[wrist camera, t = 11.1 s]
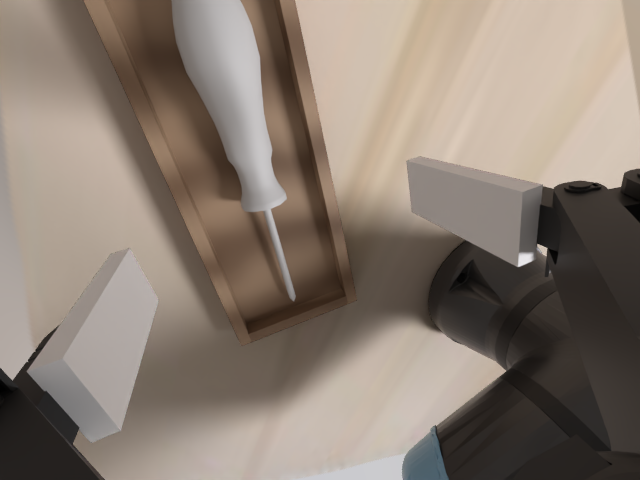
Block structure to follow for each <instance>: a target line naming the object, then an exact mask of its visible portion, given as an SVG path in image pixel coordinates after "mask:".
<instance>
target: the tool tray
mask: <svg viewBox="0 0 640 480" xmlns="http://www.w3.org/2000/svg"><path fill="white" fill-rule="evenodd" d="M240 1H241V3H242V4H243V7H244V9H245V11H246V13H247V16H248V18H249V20H250V23H251V25H252V28H253V32H254V36H255V40H256V44H257V48H258V52H259V55H260V69H261V85H262V97H263V108H264V115H265V121H266V126H267V131H268V134H269V138H270V142H271V146H272V156H271V163H272V168H273V172H274V175H275V178H276V179H277V181H278V183H279V184H280V185H281V187H282V188H283V189H284V190H285V193H286V197H287V200H285V201H284V202H283V203H282V204H281V205H279V206H276V207H274V208H272V209H271V212H272V215H273V219H274V222H275V226H276V229H277V233H278V236H279V240H280V243H281V247H282V250H283V253H284V257H285V260H286V264H287V267H288V271H289V274H290V278H291V281H292V285H293V288H294V292H295V295H296V297H295V300H294V301H293V300H292V299H290V298H289V295H288V292H287V289H286V285H285V282H284V279H283V275H282V272H281V269H280V265H279V262H278V259H277V255H276V252H275V249H274V246H273V242H272V239H271V236H270V232H269V229H268V226H267V222H266V219H265V216H264V213H263V211H258V212H247V211H244V210H243V209H242V207H241V196H242V187H241V183H240V180H239V177H238V174H237V172H236V170H235V168H234V166H233V165H232V164H231V163H230V162H229V161H228V158H227V155H226V152H225V149H224V146H223V143H222V140H221V138H220V135H219V133H218V131H217V128H216V126H215V123H214V122H213V120H212V118H211V116H210V114H209V112H208V110H207V108H206V106H205V105H204V103H203V101H202V99H201V97H200V95H199V93H198V91H197V90H196V88H195V86H194V85H193V83H192V81H191V80H190V78H189V76H188V75H187V73H186V70H185V67H184V64H183V61H182V58H181V55H180V52H179V49H178V46H177V43H176V38H175V32H174V26H173V18H172V1H171V0H84V3H85V5H86V7H87V9H88V11H89V14H90V16H91V18H92V20H93V22H94V25H95V27H96V29H97V31H98V33H99V35H100V38H101V40H102V42H103V44H104V46H105V49H106V51H107V53H108V55H109V57H110V60H111V62H112V64H113V66H114V68H115V71H116V73H117V75H118V77H119V79H120V81H121V84H122V86H123V88H124V90H125V92H126V95H127V97H128V99H129V101H130V103H131V106H132V108H133V110H134V112H135V114H136V116H137V119H138V121H139V123H140V125H141V127H142V130H143V132H144V134H145V136H146V138H147V141H148V143H149V145H150V147H151V149H152V151H153V154H154V156H155V158H156V160H157V162H158V165H159V167H160V169H161V171H162V173H163V176H164V178H165V180H166V182H167V184H168V186H169V189H170V191H171V193H172V195H173V197H174V200H175V202H176V204H177V206H178V208H179V211H180V213H181V215H182V217H183V219H184V222H185V224H186V226H187V228H188V230H189V232H190V235H191V237H192V239H193V241H194V243H195V246H196V248H197V250H198V252H199V254H200V257H201V259H202V261H203V263H204V265H205V267H206V270H207V272H208V274H209V276H210V278H211V281H212V283H213V285H214V287H215V289H216V292H217V294H218V296H219V298H220V300H221V302H222V305H223V307H224V309H225V311H226V313H227V316H228V318H229V320H230V322H231V324H232V327H233V329H234V331H235V333H236V335H237V337H238V340H239V342H240V344H241V346H243V345H246V344H248V343H251V342H253V341H256V340H258V339H261V338H263V337H266V336H268V335H271V334H273V333H276V332H278V331H281V330H284V329H286V328H289V327H291V326H294V325H296V324H299V323H301V322H304V321H306V320H309V319H311V318H314V317H316V316H319V315H321V314H324V313H326V312H329V311H331V310H334V309H336V308H339V307H342V306H344V305H347V304H349V303H352V302H354V301H357V297H356V292H355V287H354V282H353V278H352V273H351V268H350V263H349V258H348V254H347V249H346V244H345V239H344V234H343V229H342V225H341V220H340V215H339V210H338V205H337V201H336V196H335V191H334V186H333V181H332V176H331V172H330V167H329V162H328V157H327V152H326V148H325V143H324V138H323V133H322V128H321V123H320V119H319V114H318V109H317V104H316V99H315V95H314V90H313V85H312V80H311V75H310V70H309V66H308V61H307V56H306V51H305V46H304V42H303V37H302V32H301V27H300V22H299V17H298V13H297V8H296V3H295V0H240Z"/></svg>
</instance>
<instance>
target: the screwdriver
mask: <svg viewBox="0 0 640 480" xmlns="http://www.w3.org/2000/svg"><path fill="white" fill-rule="evenodd" d="M171 1H172V18H173V26H174V32H175V38H176V43H177V46H178V49H179V52H180V55H181V58H182V61H183V64H184V67H185V70H186V73H187V75H188V76H189V78H190V80H191V81H192V83H193V85H194V86H195V88H196V90H197V91H198V93H199V95H200V97H201V99H202V101H203V103H204V105H205V106H206V108H207V110H208V112H209V114H210V116H211V118H212V120H213V122H214V123H215V126H216V128H217V131H218V133H219V135H220V138H221V140H222V143H223V146H224V149H225V152H226V155H227V158H228V161H229V162H230V163H231V164H232V165H233V166H234V168H235V170H236V172H237V174H238V177H239V180H240V183H241V187H242V196H241V207H242V209H243V210H244V211H247V212H258V211H263V213H264V216H265V219H266V222H267V226H268V229H269V232H270V236H271V239H272V242H273V246H274V249H275V252H276V255H277V259H278V262H279V265H280V269H281V272H282V275H283V279H284V282H285V285H286V289H287V292H288V295H289V298H290V299H292V300H293V301H294V300H295V297H296V295H295V292H294V288H293V285H292V281H291V278H290V274H289V271H288V267H287V264H286V260H285V257H284V253H283V250H282V247H281V243H280V240H279V236H278V233H277V229H276V226H275V222H274V219H273V215H272V212H271V209H272V208H274V207H276V206H279V205H281V204H282V203H283V202H284V201H285V200H287V197H286V193H285V190H284V189H283V188H282V187H281V185H280V184H279V183H278V181H277V179H276V178H275V175H274V172H273V168H272V163H271V156H272V146H271V142H270V138H269V134H268V131H267V126H266V121H265V115H264V108H263V97H262V85H261V69H260V55H259V52H258V48H257V44H256V40H255V36H254V32H253V28H252V25H251V23H250V20H249V18H248V16H247V13H246V11H245V9H244V7H243V4H242V3H241V1H240V0H171Z"/></svg>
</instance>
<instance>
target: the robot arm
mask: <svg viewBox="0 0 640 480" xmlns="http://www.w3.org/2000/svg"><path fill="white" fill-rule="evenodd" d="M407 170H408V180H409V190H410V199H411V209H412V212H413V213H415V214H417V215H419V216H421V217H423V218H425V219H427V220H428V221H430V222H432V223H434V224H436V225H438V226H440V227H442V228H444V229H446V230H448V231H449V232H451V233H453V234H455V235H457V236H459V237H461V238H463V239H465V240H467V241H465V242H464V243H463V244H461V245H460V246H459V247H458V248H457V249H456V250H454V251H453V252H452V253H451V254H450V256H449V257H448V258H447V259H446V260H445V262H444V263H443V264H442V266H441V267H440V269H439V271H438V272H437V274H436V276H435V278H434V281H433V283H432V286H431V289H430V294H429V312H430V316H431V318H432V320H433V322H434V324H435V325H436V326H437V327H438V328H439V329H440V330H441V331H442V332H443V333H444V334H445V335H446V336H447V337H449V338H450V339H451V340H453V341H455V342H457V343H460V344H462V345H465V346H467V347H468V348H470V349H472V350H474V351H476V352H478V353H480V354H482V355H484V356H486V357H488V358H490V359H492V360H494V361H496V362H497V363H498V364H499V365H501V366H502V367H503V368H504V369H505V370H506V372H505V373H504V374H502V375H501V376H500V377H498V378H497V379H496V380H494V381H493V382H492V383H491V384H489V385H488V386H487V387H485V388H484V389H483V390H482V391H480V392H479V393H478V394H477V395H475V396H474V397H473V398H472V399H470V400H469V401H468V402H466V403H465V404H464V405H463V406H461V407H460V408H459V409H458V410H456V411H455V412H454V413H453V414H451V415H450V416H449V417H447V418H446V419H445V420H444V421H442V422H441V423H440V424H439V425H437V426H436V425H435V426H433V427H432V428H431V430H430V432H429V433H428V434H427V435H426V436H425V437H424V438H423V439H422V440H420V441H419V442H418V443H417V444H416V445H415V446H414V447H413V448H411V449H410V450H409V451H408V453H407V454H406V456H405V458H404V461H403V466H402V477H403V480H640V169H635V170H630V171H628V172H626V173H624V177H623V181H622V186H621V187H619V188H613V189H607V188H606V187H605V186H603V185H601V184H599V183H593V182H587V181H574V182H568V183H563V184H559V185H557V186H556V187H554V189H552V188H547V187H543V185H542V184H537V183H533V182H529V181H525V180H520V179H516V178H512V177H507V176H503V175H499V174H494V173H490V172H486V171H481V170H477V169H473V168H468V167H464V166H460V165H455V164H451V163H447V162H442V161H438V160H434V159H429V158H425V157H421V156H420V157H417V158H413V159H410V160H407ZM537 244H540V245H542V246H544V247H547V248H548V249H547V257H546V256H544V255H543V254H542V252H541V251H540V249H539V248H538V247H537ZM158 302H159V299H158V297H157V296H156V294H155V292H154V290H153V288H152V287H151V285H150V283H149V281H148V279H147V278H146V276H145V274H144V272H143V270H142V269H141V267H140V265H139V263H138V262H137V260H136V258H135V256H134V254H133V253H132V251H131V249H130V248H128V249H125V250H122V251H119V252H115V253H112V254H110V256H109V257H108V258H107V260H106V261H105V263H104V264H103V265H102V267H101V268H100V270H99V271H98V272H97V274H96V275H95V277H94V278H93V279H92V281H91V282H90V284H89V285H88V286H87V288H86V289H85V291H84V292H83V293H82V295H81V296H80V298H79V299H78V300H77V302H76V303H75V305H74V306H73V307H72V309H71V310H70V312H69V313H68V314H67V316H66V317H65V319H64V320H63V321H62V323H61V324H60V325H59V326H58V327H56V328H55V329H54V330H53V331H52V332H51V333H50V334H48V335H47V336H46V337H45V338H44V339H43V340H42V342H41V343H40V344H39V346H38V347H37V349H36V352H34V353H33V354H32V355H31V357H30V358H29V359H28V362H26V363H25V365H24V366H23V367H22V369H21V370H20V371H19V373H18V374H17V375H16V377H15V378H14V380H13V381H12V380H11V379H10V378H9V377H8V376H7V375H6V374H5V373H4V372H3V370H2V369H1V368H0V480H105V479H104V478H103V477H102V476H101V475H100V474H99V473H98V472H97V471H96V469H95V468H94V467H93V466H92V465H91V464H90V463H89V462H88V461H87V459H86V458H85V457H84V456H83V455H82V454H81V453H80V452H79V451H78V450H77V448H76V447H75V446H74V445H73V442H74V439H75V437H76V435H77V432H78V430H80V431H81V432H82V434H83V435H84V436H85V437H86V438H87V439H88V440H89V441H90V442H91V443H92V442H95V441H97V440H100V439H102V438H105V437H107V436H109V435H112V434H114V433H117V432H119V431H121V429H122V425H123V422H124V419H125V415H126V412H127V408H128V405H129V401H130V398H131V394H132V391H133V388H134V384H135V381H136V377H137V374H138V370H139V367H140V364H141V360H142V357H143V353H144V350H145V346H146V343H147V340H148V336H149V333H150V329H151V326H152V322H153V319H154V315H155V312H156V309H157V305H158Z"/></svg>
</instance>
